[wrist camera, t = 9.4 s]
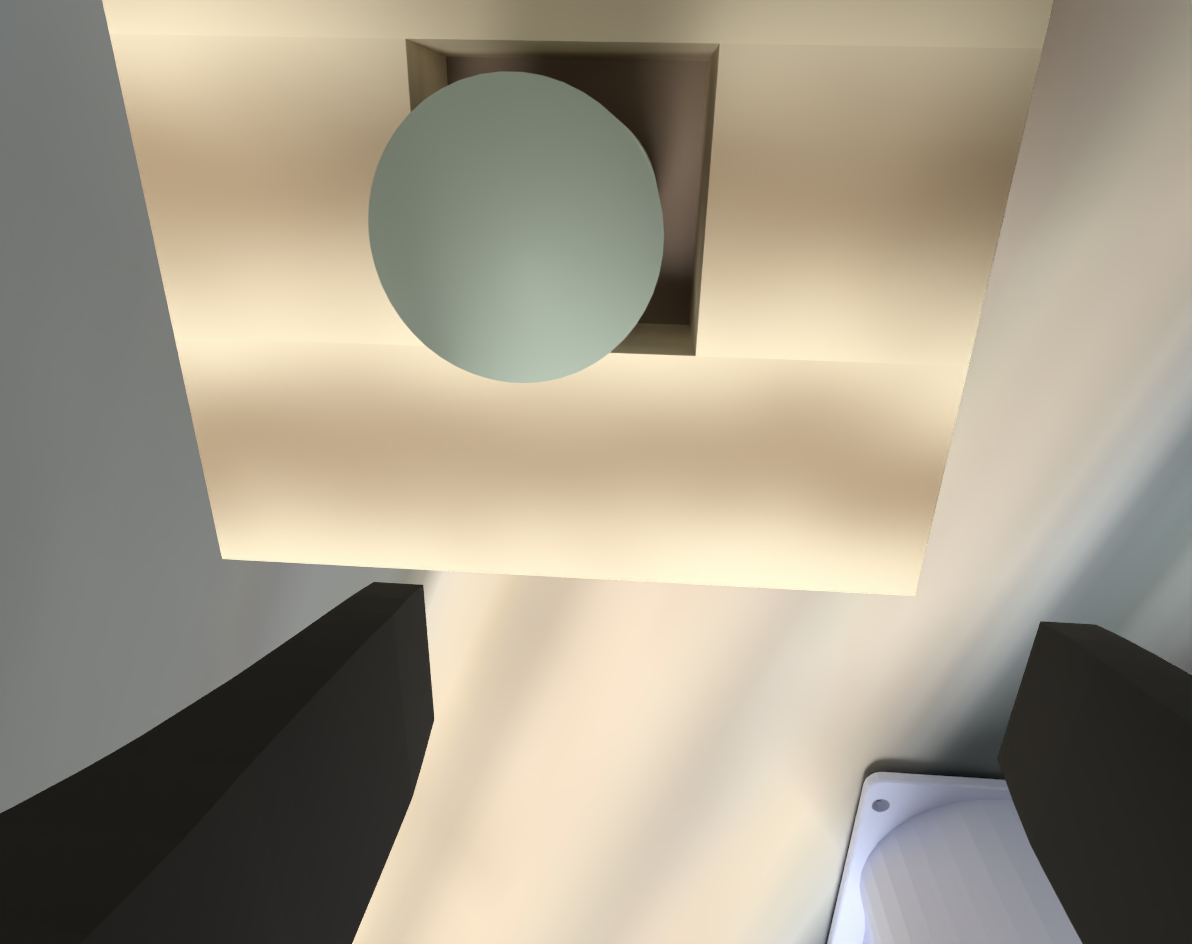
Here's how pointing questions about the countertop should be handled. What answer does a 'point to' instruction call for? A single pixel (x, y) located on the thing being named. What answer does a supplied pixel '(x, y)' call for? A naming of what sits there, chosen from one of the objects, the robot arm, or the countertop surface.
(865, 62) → the pocket block
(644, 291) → the pin
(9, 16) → the countertop surface
